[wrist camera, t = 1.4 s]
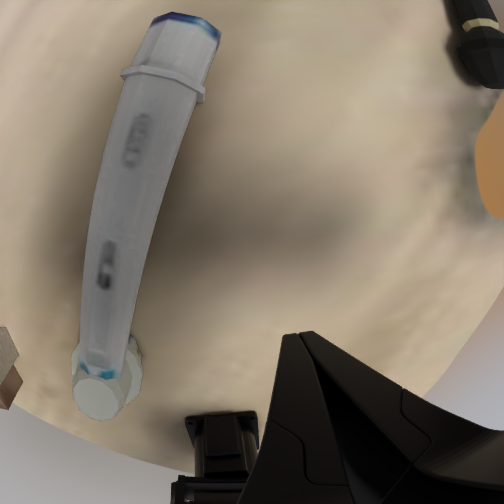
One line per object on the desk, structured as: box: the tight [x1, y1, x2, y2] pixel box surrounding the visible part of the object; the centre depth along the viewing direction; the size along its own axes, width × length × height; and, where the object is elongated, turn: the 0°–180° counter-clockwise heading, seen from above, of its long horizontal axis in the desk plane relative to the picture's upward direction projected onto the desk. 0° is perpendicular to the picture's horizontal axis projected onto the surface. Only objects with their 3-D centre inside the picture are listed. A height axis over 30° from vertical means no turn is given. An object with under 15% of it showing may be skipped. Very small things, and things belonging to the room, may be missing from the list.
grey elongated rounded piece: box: [71, 12, 222, 421], centre depth 16 cm, size 5×7×25 cm
